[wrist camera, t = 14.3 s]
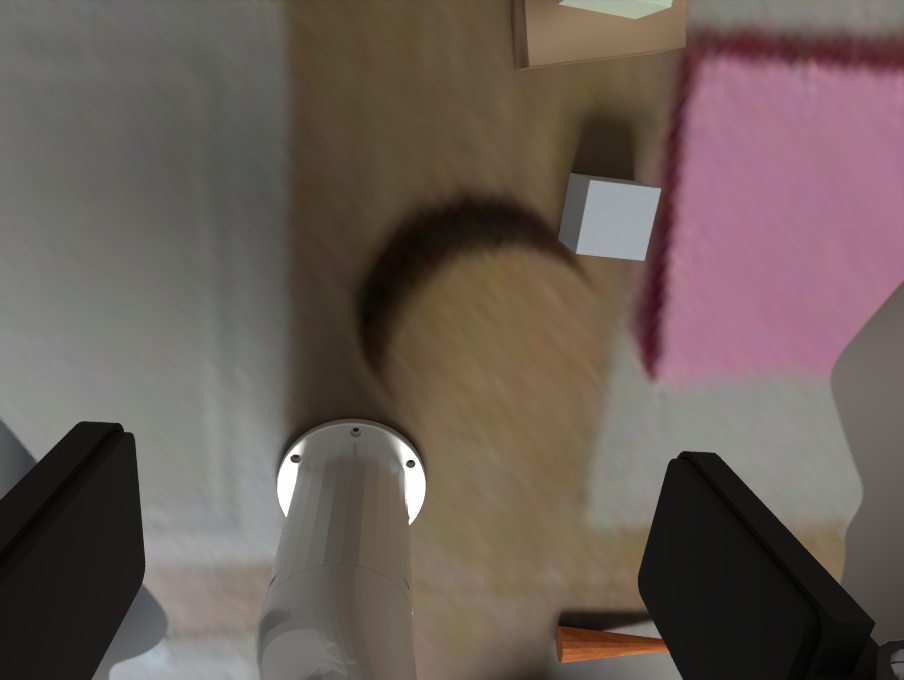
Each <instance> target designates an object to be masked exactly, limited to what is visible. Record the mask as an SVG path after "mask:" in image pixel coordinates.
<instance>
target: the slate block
mask: <svg viewBox="0 0 904 680" xmlns="http://www.w3.org/2000/svg"><path fill="white" fill-rule="evenodd" d="M660 192H661V188H658V187H654V186H651V185H647V184H644V183H641V182H637V181H633V180H625V179H616V178H608V177H600V176H591V175H583V174H575V173H570V177H569V182H568V187H567V193H566V198H565V204H564V209H563V215H562V220H561V226H560V231H559V237H558V240H559V241H560V242H562V243H563V244H564V245H565V246H567V247H568V248H569V249H571V250H572V251H573V252H574V253H576V254H583V255H593V256H603V257H613V258H622V259H632V260H642V261H644V260H645V255H646V251H647V247H648V243H649V238H650V234H651V230H652V226H653V221H654V217H655V213H656V209H657V204H658V200H659V196H660Z"/></svg>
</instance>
